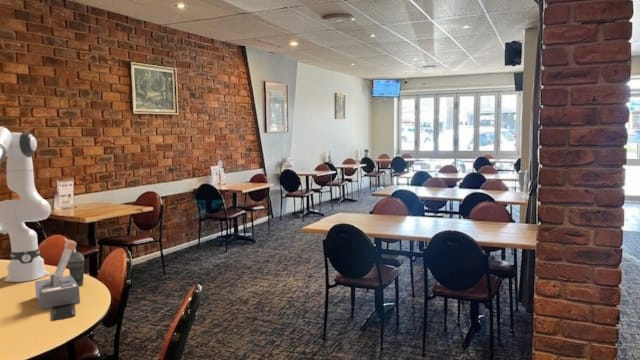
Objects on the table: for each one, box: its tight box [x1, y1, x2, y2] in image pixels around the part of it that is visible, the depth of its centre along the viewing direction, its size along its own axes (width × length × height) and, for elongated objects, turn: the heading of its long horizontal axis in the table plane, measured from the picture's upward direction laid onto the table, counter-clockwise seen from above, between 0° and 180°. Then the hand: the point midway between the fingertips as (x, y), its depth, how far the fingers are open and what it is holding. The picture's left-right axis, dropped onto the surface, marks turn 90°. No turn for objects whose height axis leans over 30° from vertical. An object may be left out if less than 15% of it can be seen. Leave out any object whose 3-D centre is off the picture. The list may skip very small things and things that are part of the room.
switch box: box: [34, 273, 81, 311], centre depth 198 cm, size 20×14×10 cm
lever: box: [52, 238, 78, 280], centre depth 199 cm, size 8×3×18 cm, turn 35°
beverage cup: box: [67, 250, 85, 287], centre depth 217 cm, size 7×7×20 cm
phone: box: [51, 303, 76, 321], centre depth 184 cm, size 8×1×15 cm
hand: (6, 232), depth 193 cm, fingers closed
